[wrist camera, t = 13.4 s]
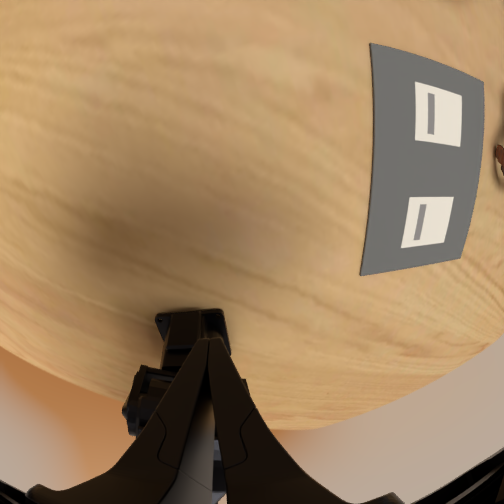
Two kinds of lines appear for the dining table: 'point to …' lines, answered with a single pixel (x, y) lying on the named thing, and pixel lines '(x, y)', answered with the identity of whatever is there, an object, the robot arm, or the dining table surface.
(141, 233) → the dining table surface
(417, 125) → the label mat
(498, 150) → the brown curved piece
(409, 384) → the dining table surface
